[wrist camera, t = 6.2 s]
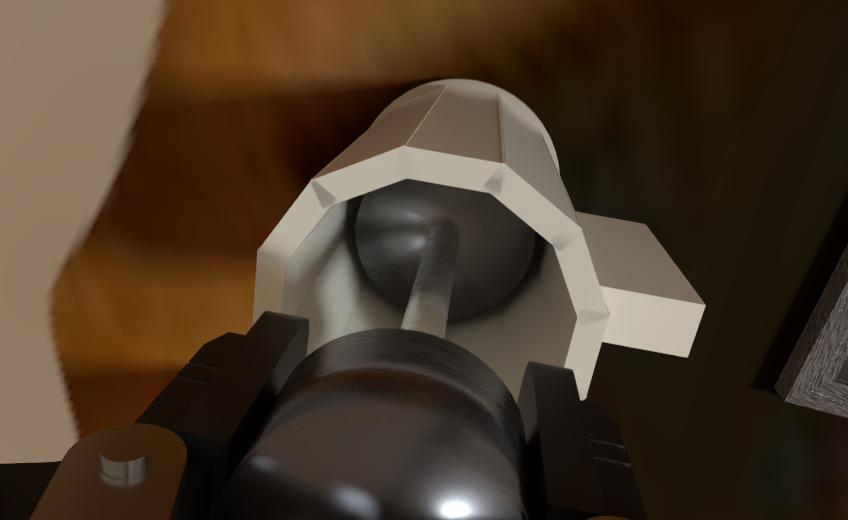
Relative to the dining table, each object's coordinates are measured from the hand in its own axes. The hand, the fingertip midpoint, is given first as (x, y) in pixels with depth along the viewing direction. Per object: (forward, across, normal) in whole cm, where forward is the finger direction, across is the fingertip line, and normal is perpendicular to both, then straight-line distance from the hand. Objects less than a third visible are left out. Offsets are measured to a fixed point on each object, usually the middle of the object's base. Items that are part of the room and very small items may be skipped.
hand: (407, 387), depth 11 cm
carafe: (+15, -1, 0) cm, 15 cm away
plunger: (+9, 0, 0) cm, 9 cm away
